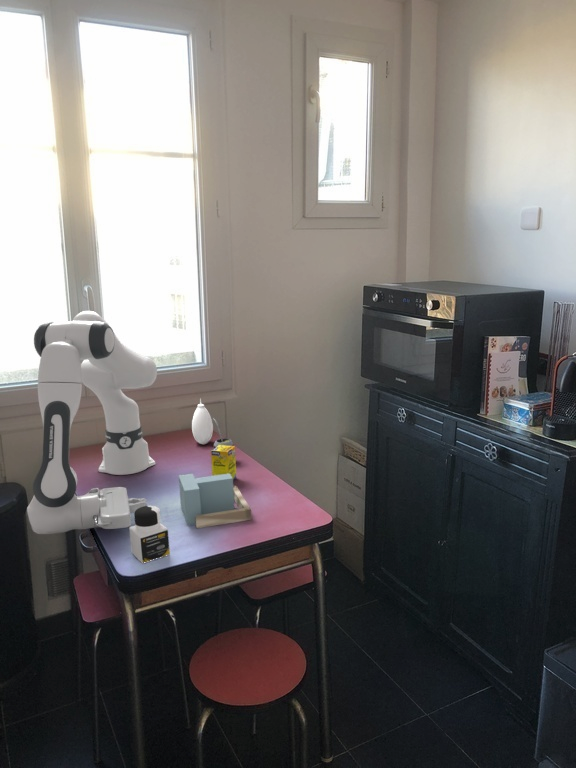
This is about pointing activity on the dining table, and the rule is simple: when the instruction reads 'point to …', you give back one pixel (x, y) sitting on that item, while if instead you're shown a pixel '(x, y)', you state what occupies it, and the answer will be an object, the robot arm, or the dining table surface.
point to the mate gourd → (222, 439)
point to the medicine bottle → (148, 535)
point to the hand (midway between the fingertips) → (146, 503)
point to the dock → (226, 513)
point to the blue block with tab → (205, 495)
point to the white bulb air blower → (202, 425)
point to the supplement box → (223, 460)
